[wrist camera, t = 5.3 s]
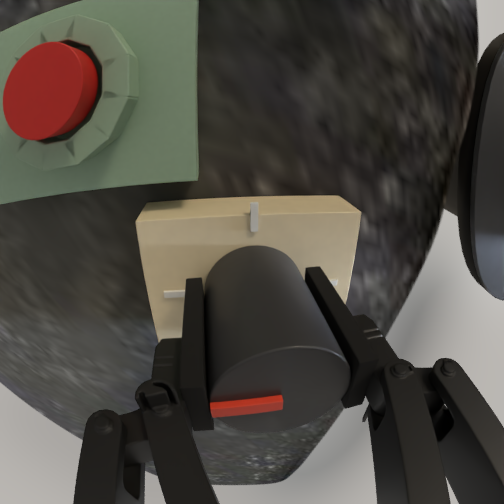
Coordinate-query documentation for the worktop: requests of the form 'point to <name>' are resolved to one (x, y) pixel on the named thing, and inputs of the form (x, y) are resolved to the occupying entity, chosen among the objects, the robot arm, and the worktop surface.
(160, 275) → the dial panel
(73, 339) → the worktop surface
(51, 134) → the switch button
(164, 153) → the switch base
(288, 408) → the dial
